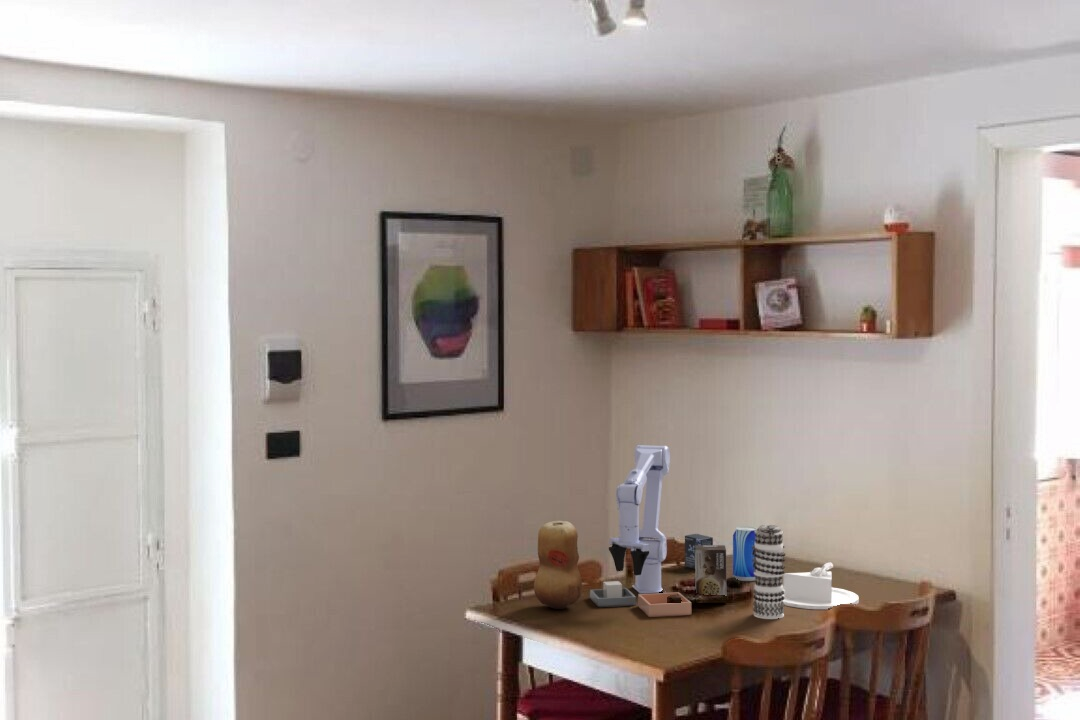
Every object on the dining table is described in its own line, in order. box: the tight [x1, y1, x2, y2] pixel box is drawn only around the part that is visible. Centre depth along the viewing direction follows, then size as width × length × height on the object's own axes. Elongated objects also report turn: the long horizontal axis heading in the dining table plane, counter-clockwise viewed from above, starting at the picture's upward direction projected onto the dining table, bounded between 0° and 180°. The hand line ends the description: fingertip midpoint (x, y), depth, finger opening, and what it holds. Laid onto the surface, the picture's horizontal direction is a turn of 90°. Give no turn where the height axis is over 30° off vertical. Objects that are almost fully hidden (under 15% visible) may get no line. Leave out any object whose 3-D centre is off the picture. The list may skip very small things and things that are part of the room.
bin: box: [637, 591, 692, 618], centre depth 353 cm, size 12×12×4 cm
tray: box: [589, 587, 637, 608], centre depth 364 cm, size 11×11×2 cm
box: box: [684, 533, 714, 570], centre depth 408 cm, size 8×6×11 cm
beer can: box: [732, 525, 758, 582], centre depth 392 cm, size 8×8×16 cm
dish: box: [782, 561, 860, 610], centre depth 365 cm, size 25×25×11 cm
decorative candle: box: [752, 524, 786, 620], centre depth 347 cm, size 9×9×25 cm
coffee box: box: [694, 544, 728, 596], centre depth 363 cm, size 9×6×16 cm
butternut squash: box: [533, 520, 583, 610], centre depth 357 cm, size 14×13×25 cm
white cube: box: [602, 580, 623, 598], centre depth 364 cm, size 4×4×5 cm
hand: (628, 573), depth 358 cm, fingers open, 7 cm apart
